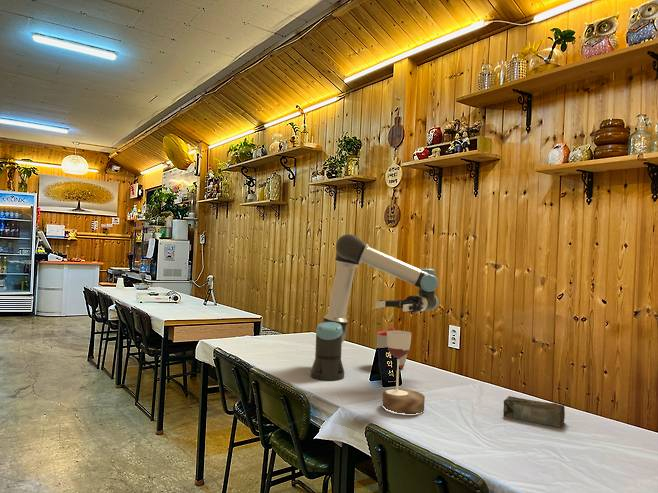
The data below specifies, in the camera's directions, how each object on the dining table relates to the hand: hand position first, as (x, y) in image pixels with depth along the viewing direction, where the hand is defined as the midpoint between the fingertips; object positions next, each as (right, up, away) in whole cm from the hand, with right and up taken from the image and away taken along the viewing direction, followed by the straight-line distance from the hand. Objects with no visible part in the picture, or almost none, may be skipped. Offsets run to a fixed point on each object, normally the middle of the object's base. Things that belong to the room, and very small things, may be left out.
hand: (389, 306), depth 203 cm
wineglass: (0, -29, -23) cm, 37 cm away
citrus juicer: (+6, -35, +37) cm, 51 cm away
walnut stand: (+2, -34, -26) cm, 43 cm away
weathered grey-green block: (+46, -36, -32) cm, 67 cm away
